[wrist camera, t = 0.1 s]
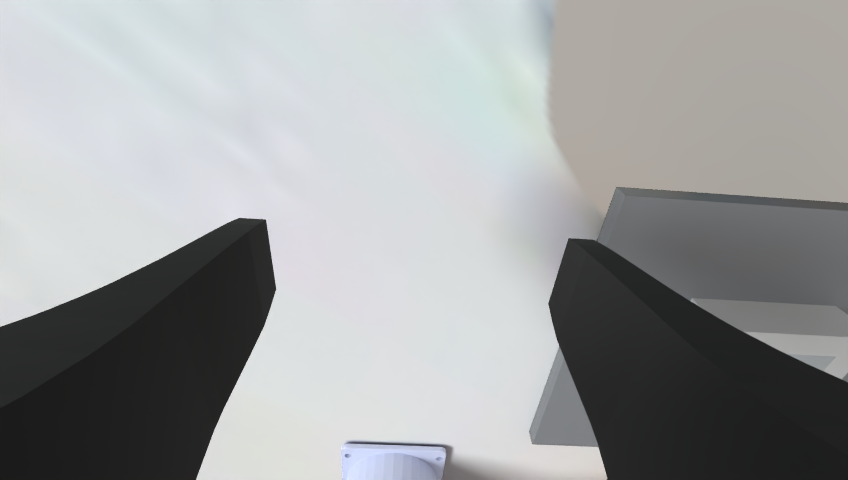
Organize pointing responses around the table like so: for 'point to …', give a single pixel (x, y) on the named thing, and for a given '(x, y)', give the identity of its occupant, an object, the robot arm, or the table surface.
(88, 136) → the table surface
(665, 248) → the grey flat piece
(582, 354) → the robot arm
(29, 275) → the table surface
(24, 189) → the table surface
